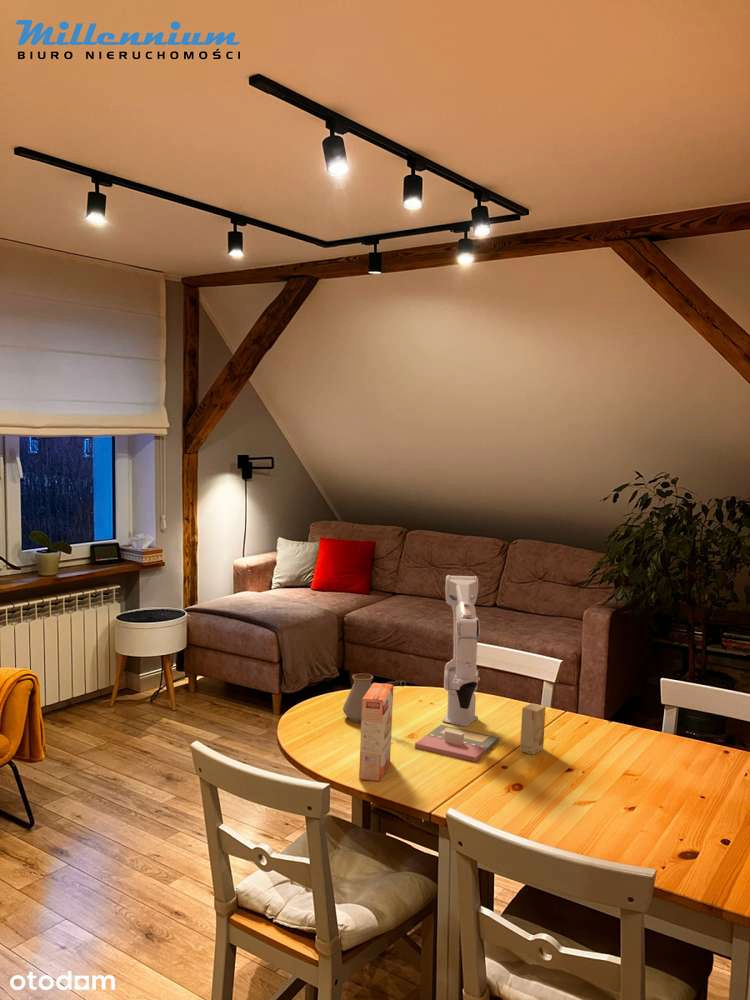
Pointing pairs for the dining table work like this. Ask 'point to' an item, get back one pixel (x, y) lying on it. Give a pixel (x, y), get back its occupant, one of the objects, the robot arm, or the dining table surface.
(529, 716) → the skincare box
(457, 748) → the pink board with handle
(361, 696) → the coffee pot
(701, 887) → the dining table surface
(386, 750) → the cracker box
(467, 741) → the ticket
